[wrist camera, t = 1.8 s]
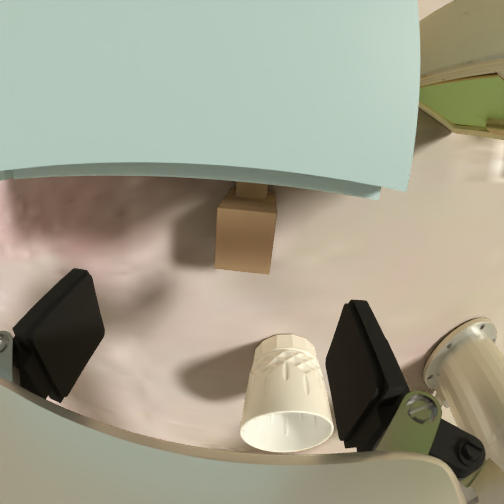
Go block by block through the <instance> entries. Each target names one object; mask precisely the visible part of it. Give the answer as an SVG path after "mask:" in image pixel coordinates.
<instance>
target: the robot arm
mask: <svg viewBox="0 0 504 504" xmlns="http://www.w3.org/2000/svg"><path fill="white" fill-rule="evenodd" d="M12 329H13V331H14V334H15V337H14V338H13V337H12V336H11V334H10V333H8V332H6V331H0V504H504V356H503V354H502V353H501V352H500V350H499V349H498V347H497V346H496V345H495V342H496V338H497V330H496V327H495V325H494V324H493V323H492V322H491V321H490V320H489V319H487V318H477V319H473V320H471V321H468V322H466V323H465V324H463V325H461V326H459V327H458V328H457V329H455V330H454V331H452V332H451V333H450V334H449V335H448V336H447V337H446V338H445V339H444V340H443V341H442V342H441V343H440V344H439V345H438V346H437V347H436V348H435V350H434V351H433V352H432V354H431V355H430V357H429V358H428V360H427V362H426V364H425V367H424V371H423V378H424V381H425V383H426V385H427V386H428V387H429V388H430V389H433V390H436V392H437V393H436V394H435V397H434V396H432V395H431V394H429V393H427V392H424V391H413V392H410V390H409V388H408V386H407V383H406V381H405V379H404V376H403V374H402V372H401V369H400V367H399V365H398V363H397V360H396V358H395V356H394V354H393V352H392V349H391V347H390V345H389V343H388V341H387V339H386V338H385V336H384V334H383V332H382V330H381V328H380V326H379V324H378V322H377V320H376V318H375V316H374V314H373V312H372V310H371V308H370V306H369V304H368V302H367V301H365V300H350V302H349V304H347V303H346V304H345V305H344V307H343V310H342V313H341V316H340V319H339V322H338V325H337V328H336V331H335V334H334V337H333V340H332V343H331V346H330V348H329V351H328V354H327V357H326V370H327V375H328V380H329V386H330V391H331V396H332V401H333V407H334V412H335V418H336V424H337V430H338V435H339V439H340V440H341V441H344V445H345V448H354V447H356V448H357V452H351V453H337V454H315V455H279V454H256V453H243V452H232V451H223V450H215V449H208V448H202V447H196V446H190V445H184V444H179V443H174V442H169V441H165V440H160V439H156V438H152V437H148V436H144V435H140V434H137V433H133V432H130V431H126V430H123V429H120V428H117V427H113V426H110V425H107V424H104V423H102V422H99V421H96V420H93V419H90V418H88V417H85V416H83V415H80V414H77V413H75V412H73V411H70V410H68V409H65V408H63V407H61V406H59V405H56V404H54V403H52V402H50V401H48V400H46V398H47V396H48V395H49V397H50V398H51V399H53V400H55V401H57V402H59V403H61V402H62V400H63V398H64V397H67V396H68V394H69V393H70V391H71V389H72V388H73V386H74V384H75V382H76V381H77V379H78V377H79V376H80V374H81V372H82V371H83V369H84V367H85V366H86V364H87V362H88V361H89V359H90V358H91V356H92V354H93V353H94V351H95V350H96V348H97V347H98V345H99V343H100V342H101V340H102V339H103V337H104V333H105V329H104V325H103V322H102V318H101V314H100V310H99V306H98V302H97V297H96V293H95V288H94V284H93V279H92V276H91V275H90V274H89V272H88V271H87V270H82V269H76V268H74V269H72V270H71V271H70V272H69V273H68V274H67V275H66V276H65V277H63V278H62V279H61V280H60V281H59V282H58V283H57V284H56V285H55V286H54V287H53V288H52V289H51V290H50V291H49V292H48V293H47V294H45V295H44V296H43V297H42V298H41V299H40V300H39V301H38V302H37V303H36V304H35V305H34V306H33V307H32V308H31V309H30V310H29V311H28V313H27V314H26V315H25V316H24V317H23V318H22V319H21V320H20V321H19V322H18V323H17V324H16V325H15V326H14V327H13V328H12ZM442 405H444V407H446V408H448V407H449V408H450V410H451V412H452V415H453V417H454V419H455V421H456V424H457V426H458V427H456V426H454V425H452V424H450V423H449V422H447V421H445V420H443V419H441V416H442V410H441V407H442Z"/></svg>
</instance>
